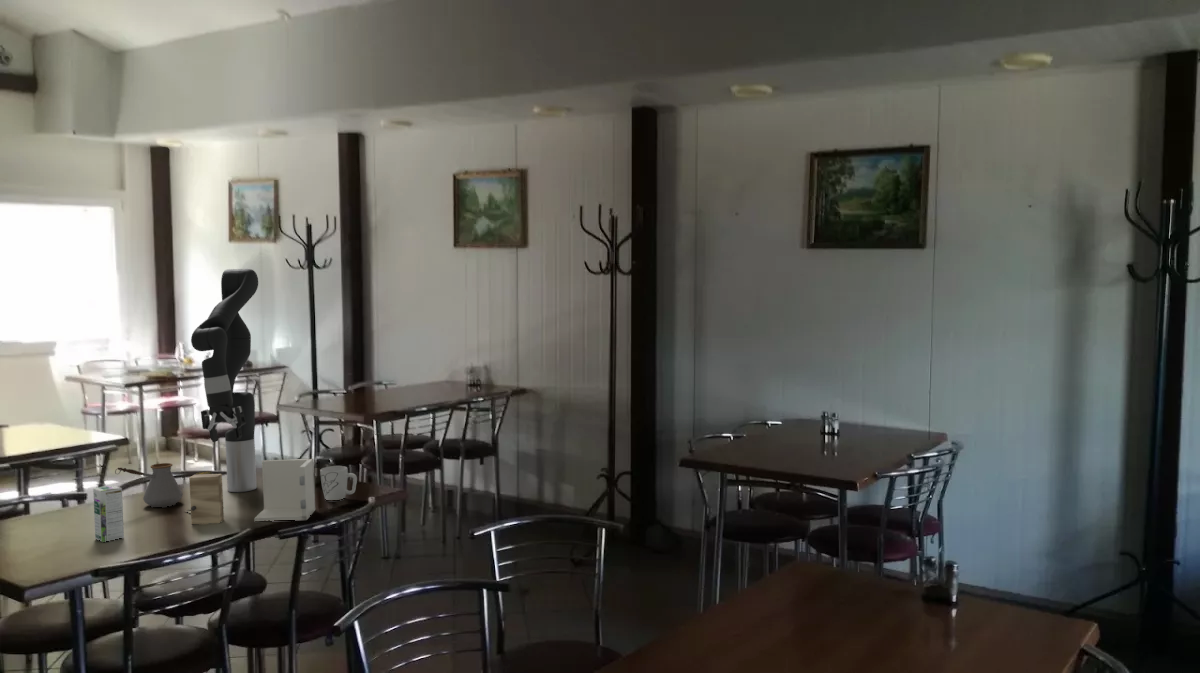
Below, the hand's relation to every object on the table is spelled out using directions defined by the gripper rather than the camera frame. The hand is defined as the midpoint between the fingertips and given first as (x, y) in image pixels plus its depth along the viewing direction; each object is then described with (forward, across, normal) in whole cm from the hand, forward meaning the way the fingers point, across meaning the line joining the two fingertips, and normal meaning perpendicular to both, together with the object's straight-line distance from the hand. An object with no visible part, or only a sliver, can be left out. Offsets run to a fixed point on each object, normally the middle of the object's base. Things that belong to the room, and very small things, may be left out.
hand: (226, 440), depth 298 cm
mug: (+24, -30, -10) cm, 40 cm away
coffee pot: (+18, +23, +12) cm, 31 cm away
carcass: (+23, -25, +13) cm, 36 cm away
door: (+20, -6, +23) cm, 31 cm away
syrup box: (+18, +10, +43) cm, 48 cm away
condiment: (+20, +4, +11) cm, 23 cm away
